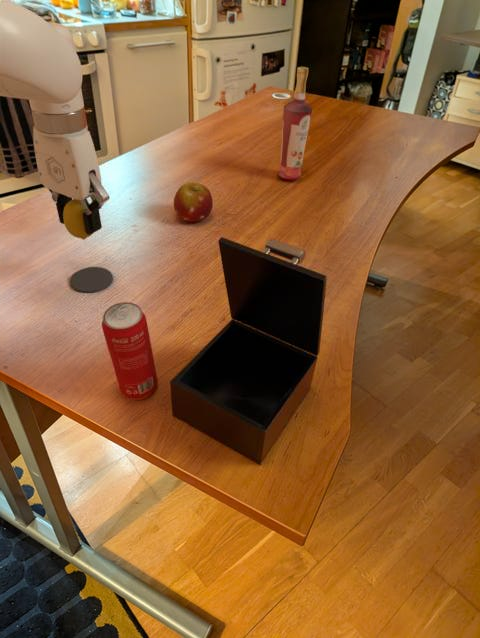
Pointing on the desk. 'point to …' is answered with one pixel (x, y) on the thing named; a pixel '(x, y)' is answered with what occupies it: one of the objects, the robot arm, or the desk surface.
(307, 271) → the lid
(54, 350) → the desk surface
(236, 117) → the desk surface
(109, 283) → the coaster
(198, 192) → the fruit
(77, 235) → the lemon
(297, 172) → the liquor
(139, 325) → the beverage can
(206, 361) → the black open square box
